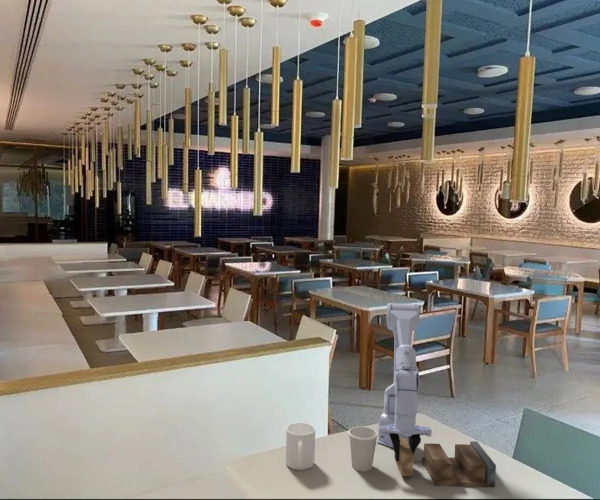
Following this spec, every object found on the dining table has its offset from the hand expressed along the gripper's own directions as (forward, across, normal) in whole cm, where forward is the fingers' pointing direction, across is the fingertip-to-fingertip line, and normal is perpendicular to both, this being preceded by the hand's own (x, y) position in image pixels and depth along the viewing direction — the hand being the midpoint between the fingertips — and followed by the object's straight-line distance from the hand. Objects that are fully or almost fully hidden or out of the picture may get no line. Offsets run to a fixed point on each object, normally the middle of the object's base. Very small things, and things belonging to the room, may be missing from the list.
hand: (403, 459), depth 140 cm
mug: (+3, -29, +1) cm, 29 cm away
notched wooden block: (+3, +14, 0) cm, 14 cm away
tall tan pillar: (+2, 0, 0) cm, 2 cm away
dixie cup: (+3, -11, +2) cm, 12 cm away
